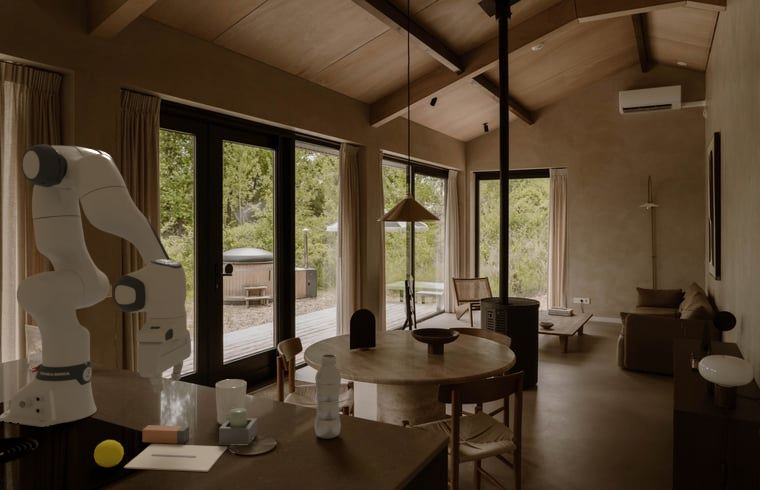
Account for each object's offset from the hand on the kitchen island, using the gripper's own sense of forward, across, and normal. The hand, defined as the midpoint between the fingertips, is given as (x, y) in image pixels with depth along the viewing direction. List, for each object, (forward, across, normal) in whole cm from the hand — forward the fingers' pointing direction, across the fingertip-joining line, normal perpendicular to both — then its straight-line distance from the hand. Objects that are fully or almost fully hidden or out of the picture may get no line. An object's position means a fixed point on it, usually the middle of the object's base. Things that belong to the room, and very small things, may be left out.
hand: (167, 385), depth 126 cm
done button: (+12, -2, +16) cm, 20 cm away
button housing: (+14, -2, +16) cm, 21 cm away
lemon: (+13, +14, -6) cm, 20 cm away
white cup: (+14, -14, +10) cm, 22 cm away
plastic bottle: (+14, -6, +37) cm, 40 cm away
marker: (+13, 0, 0) cm, 13 cm away
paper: (+13, +9, +6) cm, 17 cm away
